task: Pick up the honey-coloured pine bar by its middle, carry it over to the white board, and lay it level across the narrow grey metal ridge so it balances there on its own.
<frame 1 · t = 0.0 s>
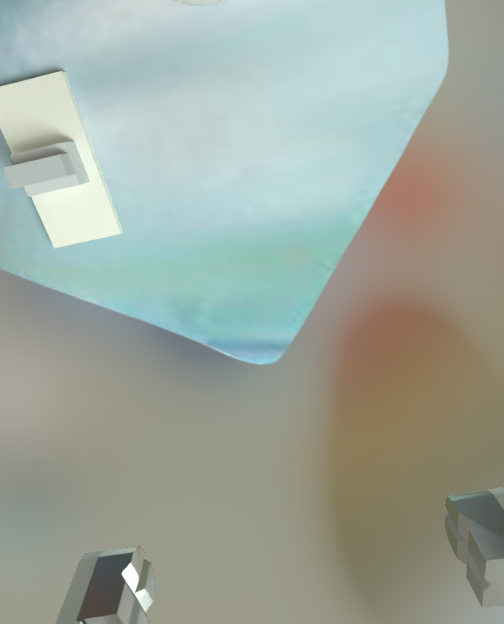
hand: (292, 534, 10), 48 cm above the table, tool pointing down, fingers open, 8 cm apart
fulcrum stand: (61, 167, 51), on the table
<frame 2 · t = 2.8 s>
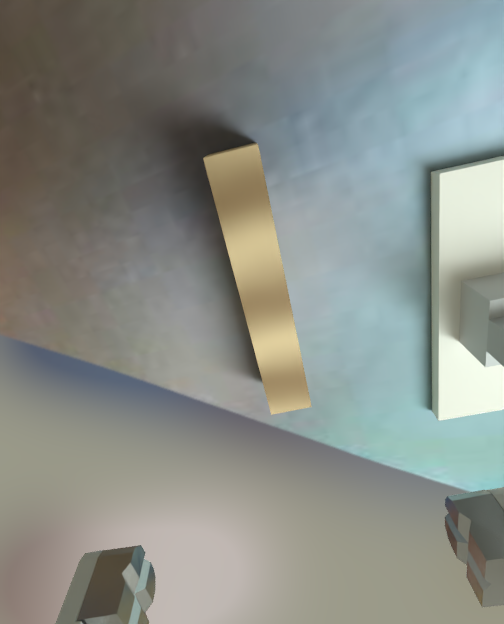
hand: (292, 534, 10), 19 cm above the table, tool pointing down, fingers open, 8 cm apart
pine bar: (262, 279, 27), on the table
fulcrum stand: (499, 296, 28), on the table
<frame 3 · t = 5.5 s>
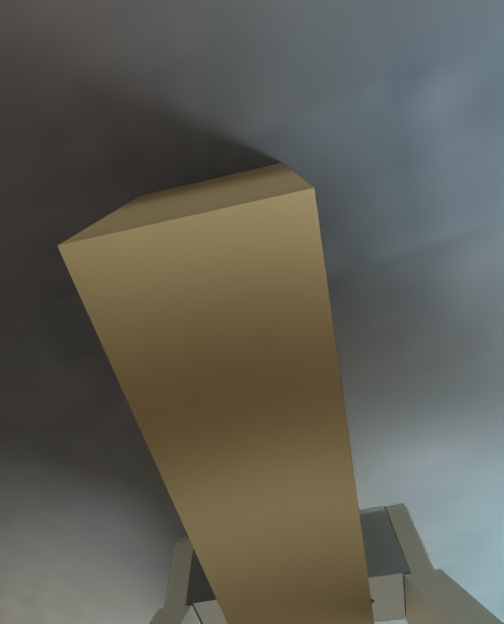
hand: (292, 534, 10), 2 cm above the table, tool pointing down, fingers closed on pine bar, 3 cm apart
pine bar: (285, 477, 12), on the table, touching gripper
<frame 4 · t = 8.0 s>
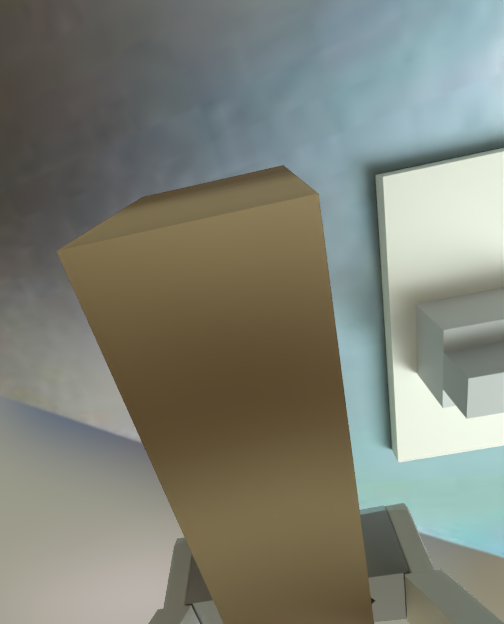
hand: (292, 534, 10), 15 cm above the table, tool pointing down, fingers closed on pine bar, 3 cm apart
pine bar: (285, 482, 12), point 13 cm above the table, touching gripper
fulcrum stand: (463, 321, 24), on the table
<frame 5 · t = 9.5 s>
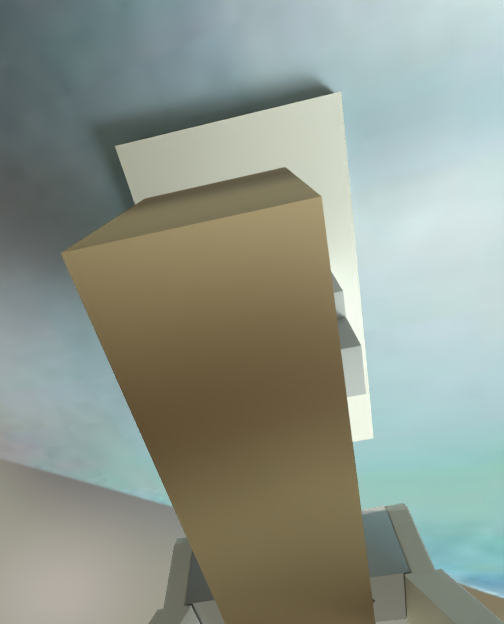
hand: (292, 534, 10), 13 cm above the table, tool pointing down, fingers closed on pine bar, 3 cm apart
pine bar: (286, 482, 12), point 11 cm above the table, touching gripper
fulcrum stand: (268, 310, 22), on the table
when the fingers open (10 cm above the table, at t = 10.7 s): pine bar stays where it is, resting on fulcrum stand.
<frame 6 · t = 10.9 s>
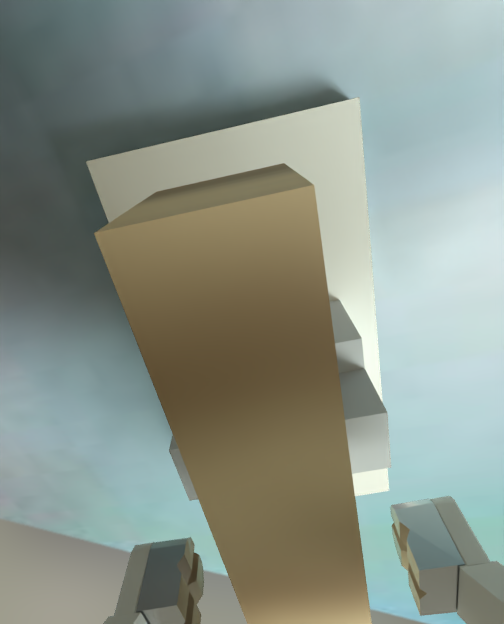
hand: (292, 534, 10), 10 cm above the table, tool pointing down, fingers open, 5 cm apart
pine bar: (285, 460, 12), point 7 cm above the table, touching fulcrum stand
fulcrum stand: (269, 349, 19), on the table
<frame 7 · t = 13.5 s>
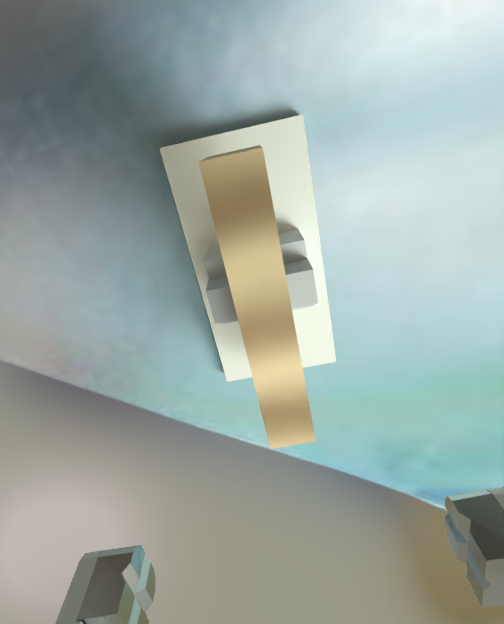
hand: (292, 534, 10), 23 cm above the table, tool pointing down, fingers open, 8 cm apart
pine bar: (263, 298, 25), point 7 cm above the table, touching fulcrum stand
fulcrum stand: (258, 263, 31), on the table
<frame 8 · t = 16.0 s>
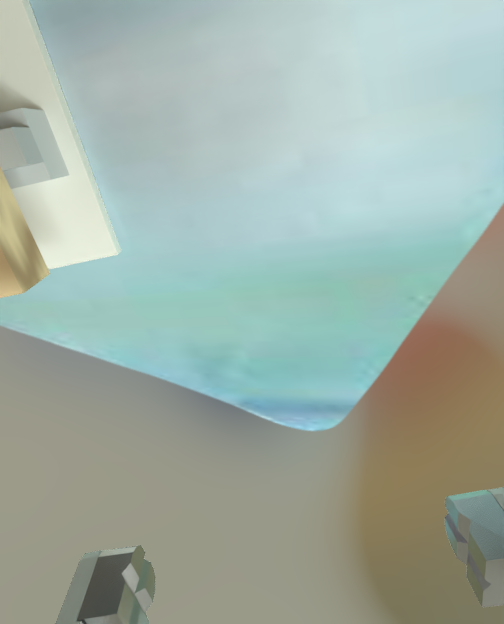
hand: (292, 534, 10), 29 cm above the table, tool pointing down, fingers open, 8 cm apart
fulcrum stand: (25, 152, 32), on the table
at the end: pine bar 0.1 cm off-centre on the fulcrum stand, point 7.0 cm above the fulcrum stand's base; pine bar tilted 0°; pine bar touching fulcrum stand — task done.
